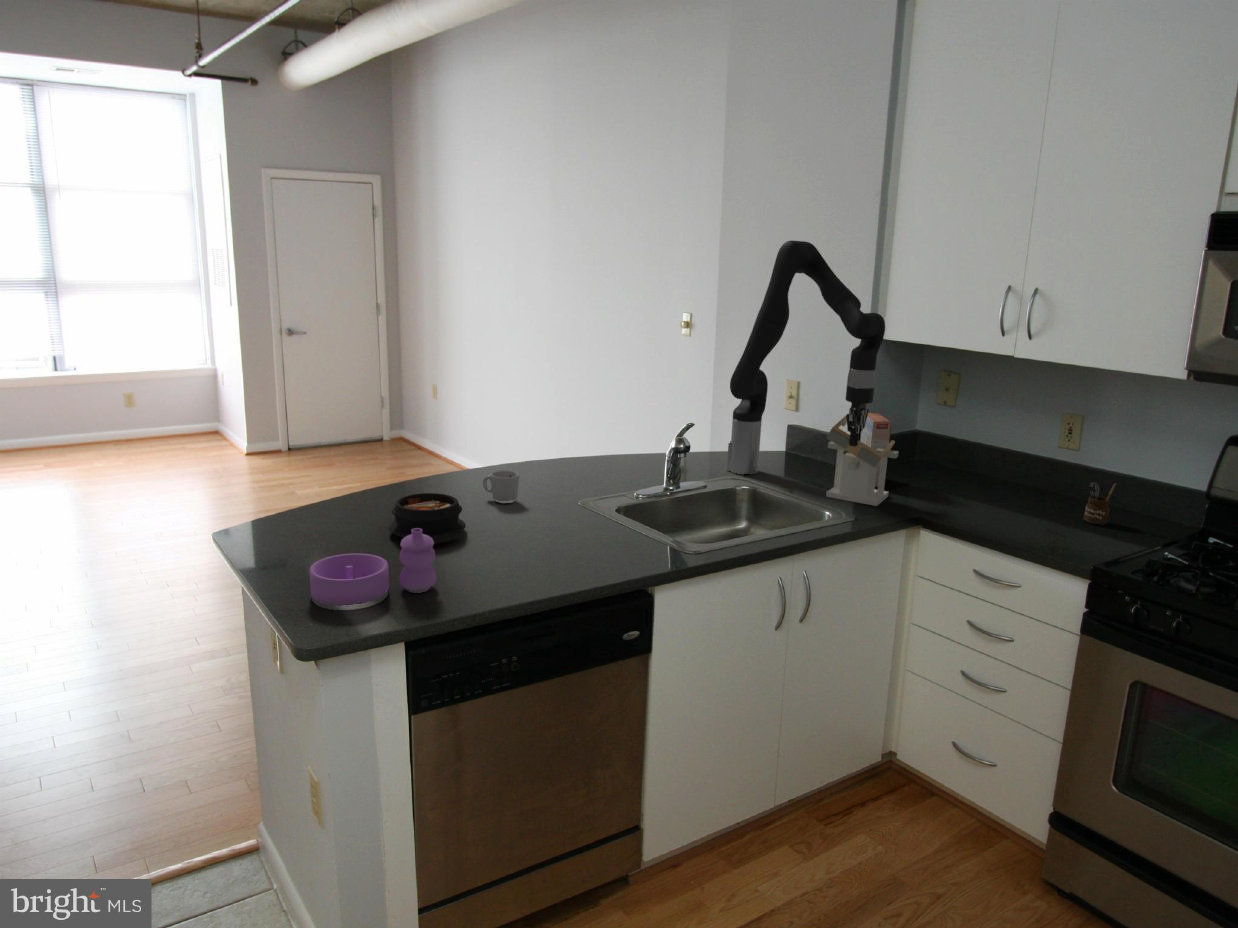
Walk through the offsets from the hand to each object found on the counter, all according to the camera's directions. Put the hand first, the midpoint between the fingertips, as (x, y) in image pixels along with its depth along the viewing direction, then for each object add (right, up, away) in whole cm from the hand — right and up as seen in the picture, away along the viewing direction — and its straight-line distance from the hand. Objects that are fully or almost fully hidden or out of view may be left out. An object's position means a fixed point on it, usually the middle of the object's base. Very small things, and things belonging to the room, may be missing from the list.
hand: (854, 444), depth 254 cm
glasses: (+3, 0, +6) cm, 6 cm away
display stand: (+3, -15, +9) cm, 18 cm away
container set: (-118, -32, -70) cm, 141 cm away
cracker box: (+12, -11, +27) cm, 32 cm away
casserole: (-114, -23, -33) cm, 121 cm away
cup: (-100, -16, -6) cm, 102 cm away
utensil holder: (+65, -22, -7) cm, 69 cm away
